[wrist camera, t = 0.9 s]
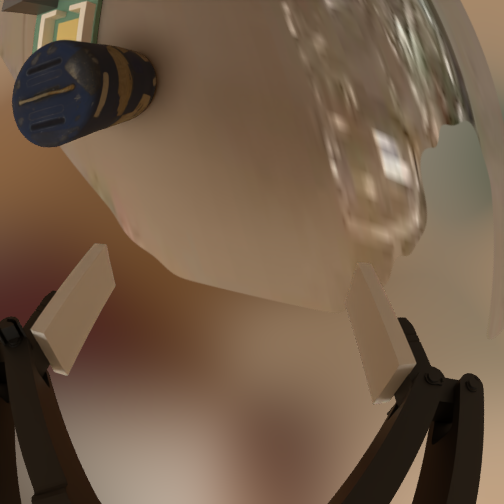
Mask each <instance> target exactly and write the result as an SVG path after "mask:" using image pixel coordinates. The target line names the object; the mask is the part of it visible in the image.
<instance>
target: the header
mask: <svg viewBox="0 0 504 504" xmlns="http://www.w3.org/2000/svg"><path fill="white" fill-rule="evenodd" d="M95 9H96V4H94V3H91V2H89V1H84V2H81V3H77V4H73V5H70V6H69V11H71V12H75V13H80V15H79V18H77V19H73V20H70V21H66V22H63V23H59V25H58V32H57V41H58V40H73V41H80V42H88V43H91V38H92V29H93V22H94V15H95ZM66 13H67V12H64V11H60V10H54V11H51V12H48V13H46V14H43V15H42V16H41V23H40V30H39V38H38V47H37V50H38V49H39V48H41V47H42V46H44V45H46V44H48V43H51V42H53V34H54V27H55V20H57V19H61V18H64V17H66Z"/></svg>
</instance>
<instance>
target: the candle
mask: <svg viewBox="0 0 504 504" xmlns="http://www.w3.org/2000/svg"><path fill="white" fill-rule="evenodd" d="M155 87H156V75H155V71H154V68H153V66H152V65H151V63H150V62H149V60H148V59H147V58H146V57H144V56H143V55H142V54H140V53H138V52H135V51H132V50H128V49H124V48H120V47H115V46H110V45H101V44H94V43H88V42H80V41H73V40H58V41H54V42H51V43H48V44H46V45H44V46H42V47H41V48H39V49H38V50H37V51H35V52H34V53H33V54H32V55H31V56H30V57H29V58H28V60H27V61H26V62H25V63H24V65H23V66H22V68H21V70H20V72H19V74H18V76H17V79H16V82H15V85H14V90H13V98H12V104H13V105H12V107H13V114H14V118H15V121H16V123H17V126H18V128H19V130H20V132H21V133H22V134H23V135H24V136H25V138H27V139H28V140H29V141H30V142H32V143H34V144H35V145H38V146H41V147H57V146H60V145H63V144H65V143H68V142H71V141H73V140H76V139H78V138H81V137H83V136H86V135H88V134H91V133H93V132H96V131H99V130H102V129H105V128H108V127H110V126H113V125H116V124H119V123H122V122H125V121H128V120H130V119H132V118H134V117H136V116H138V115H139V114H140V113H142V112H143V111H144V110H145V109H146V107H147V106H148V105H149V103H150V102H151V100H152V98H153V95H154V92H155Z"/></svg>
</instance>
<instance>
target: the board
mask: <svg viewBox="0 0 504 504" xmlns="http://www.w3.org/2000/svg"><path fill="white" fill-rule="evenodd" d="M84 1H89V2H91V3H94V4H96V9H95V15H94V22H93V29H92V38H91V43H94V44H97V35H98V27H99V20H100V13H101V6H102V1H103V0H59V2H58V8H56V9H53V10H50V11H47V12H45V13H42V14H39V15H37V19H36V26H35V33H34V42H33V51H32V54H33V53H34V52H35V51H37V47H38V38H39V30H40V23H41V16H42V15H43V14H46V13H48V12H51V11H54V10H60V11H64V12H67V13H66V17H64V18H61V19H57V20H55V27H54V34H53V42H54V41H57V32H58V25H59V23H63V22H66V21H70V20H73V19H77V18H79V15H80V13H75V12H71V11H69V6H70V5H73V4H77V3H81V2H84Z"/></svg>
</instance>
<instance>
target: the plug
mask: <svg viewBox="0 0 504 504" xmlns="http://www.w3.org/2000/svg"><path fill="white" fill-rule="evenodd" d="M58 2H59V0H4V3H3V8H2V11H6V12H16V13H25V14H32V15H39V14H42V13H45V12H47V11H50V10H53V9H56V8H58Z"/></svg>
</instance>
